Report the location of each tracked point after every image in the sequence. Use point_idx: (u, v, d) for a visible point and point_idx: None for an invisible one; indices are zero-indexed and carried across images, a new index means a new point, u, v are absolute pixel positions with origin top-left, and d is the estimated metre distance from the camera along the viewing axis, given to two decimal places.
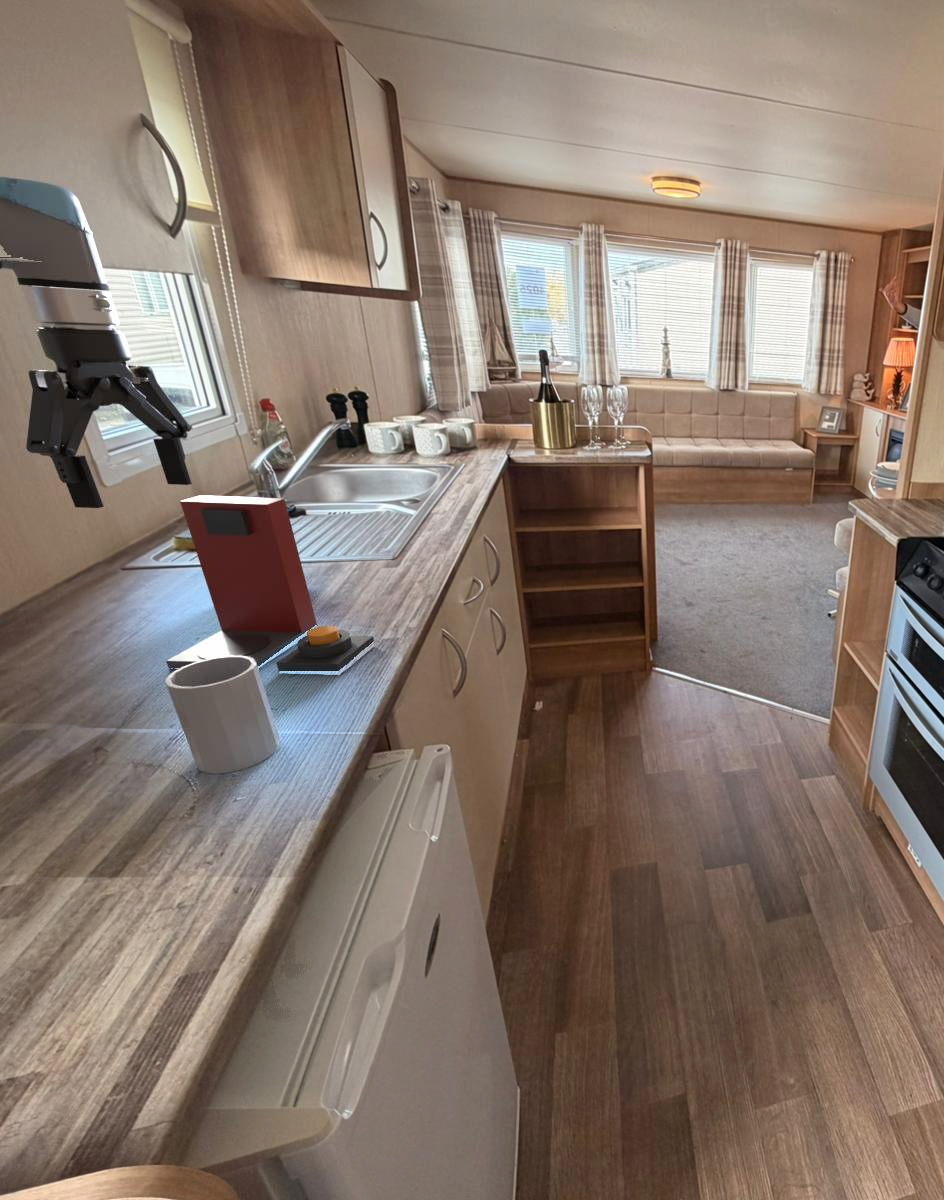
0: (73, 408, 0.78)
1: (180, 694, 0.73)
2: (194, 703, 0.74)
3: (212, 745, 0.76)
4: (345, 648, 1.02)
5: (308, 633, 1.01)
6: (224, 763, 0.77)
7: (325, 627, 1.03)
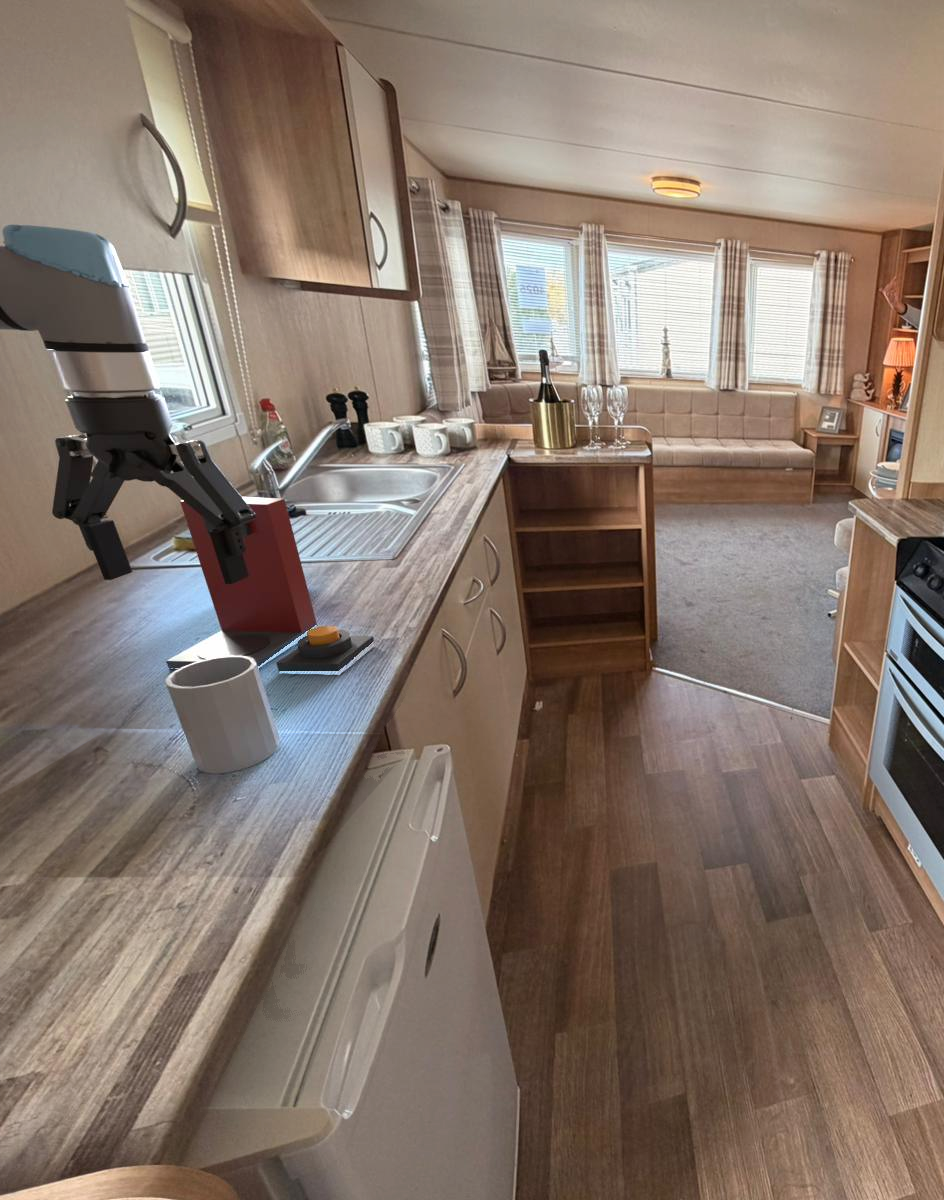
0: (187, 481, 0.72)
1: (180, 694, 0.73)
2: (194, 703, 0.74)
3: (212, 745, 0.76)
4: (345, 648, 1.02)
5: (308, 633, 1.01)
6: (224, 763, 0.77)
7: (325, 627, 1.03)
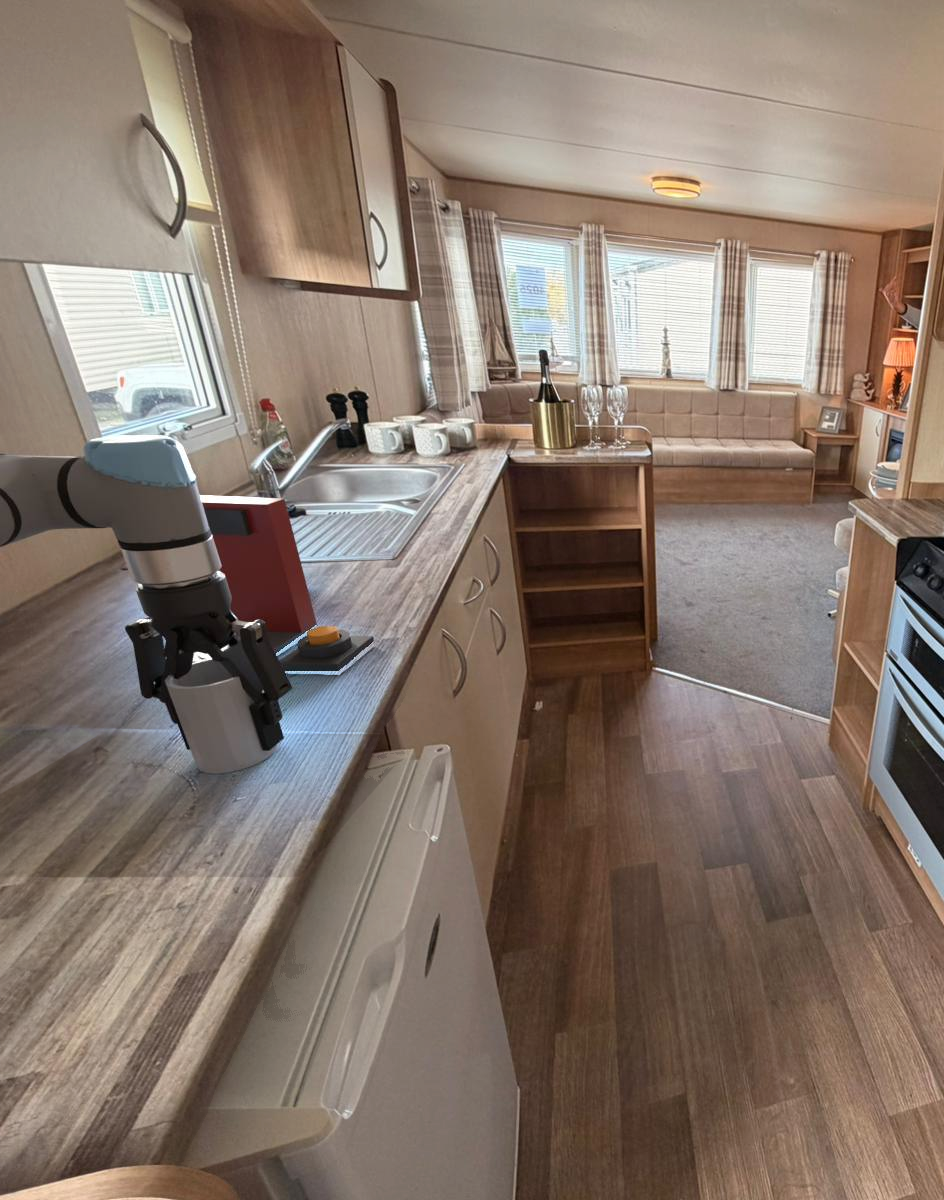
0: (239, 655, 0.76)
1: (180, 694, 0.73)
2: (194, 703, 0.74)
3: (212, 745, 0.76)
4: (345, 648, 1.02)
5: (308, 633, 1.01)
6: (224, 763, 0.77)
7: (325, 627, 1.03)
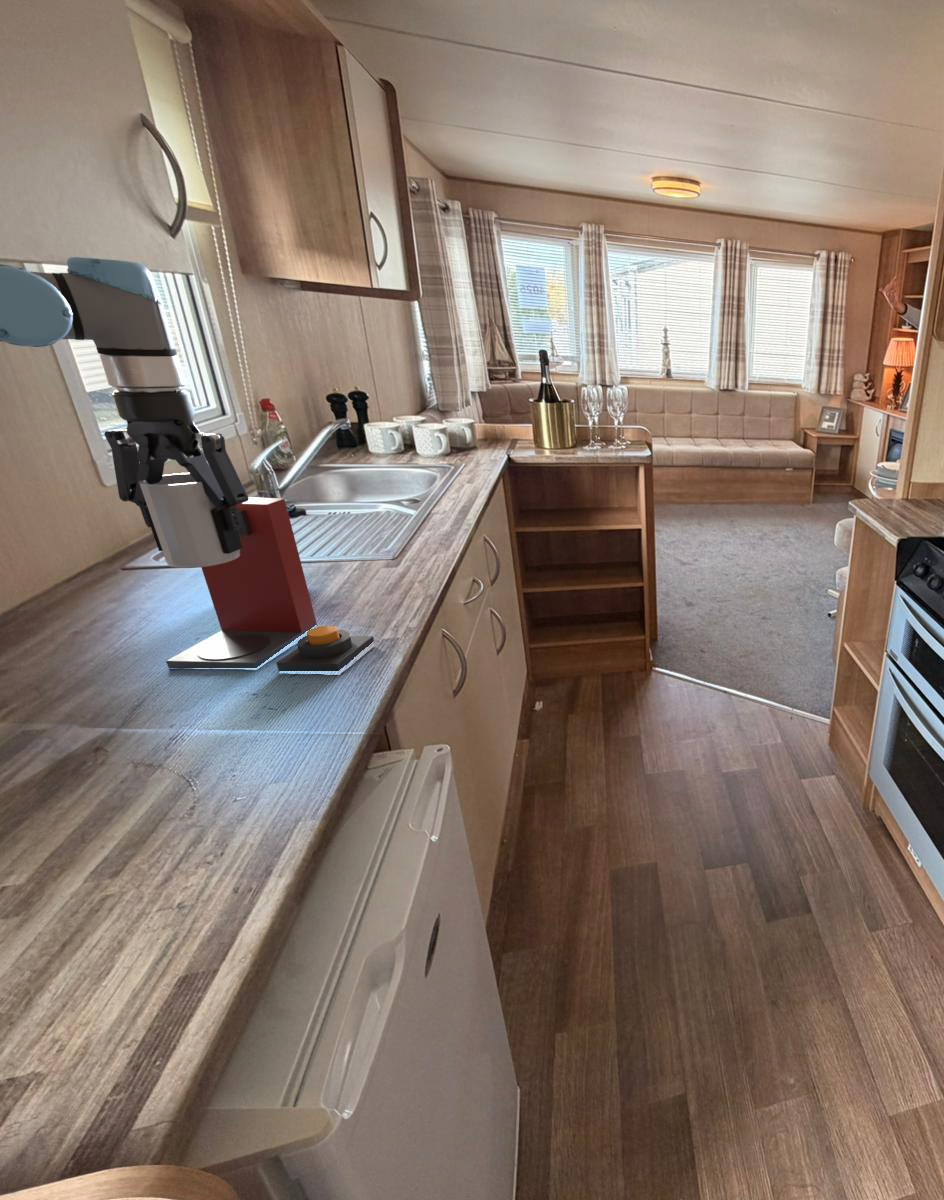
0: (202, 465, 0.90)
1: (151, 490, 0.86)
2: (163, 500, 0.87)
3: (179, 540, 0.89)
4: (345, 648, 1.02)
5: (308, 633, 1.01)
6: (190, 558, 0.91)
7: (325, 627, 1.03)
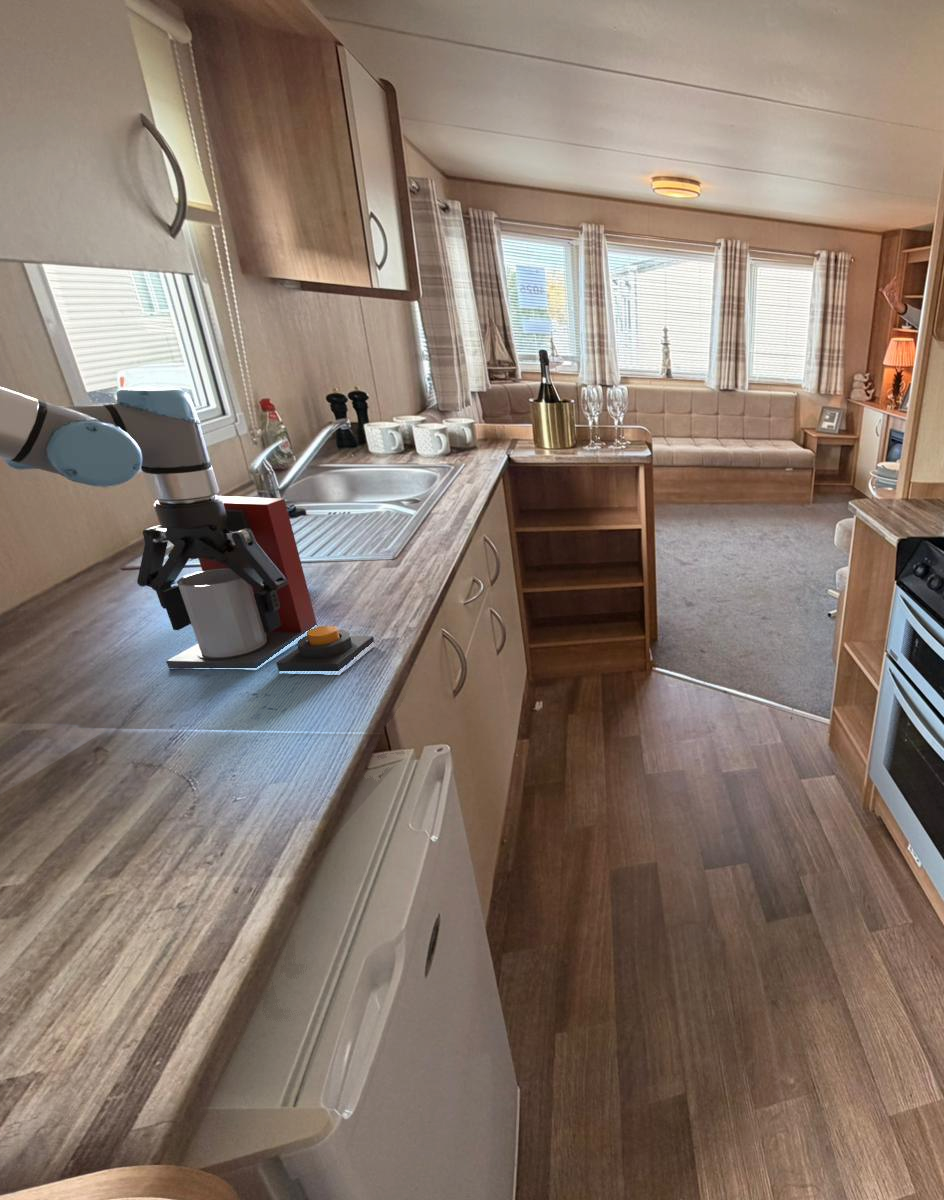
0: (238, 558, 0.98)
1: (188, 591, 0.95)
2: (199, 599, 0.96)
3: (213, 634, 0.98)
4: (345, 648, 1.02)
5: (308, 633, 1.01)
6: (222, 649, 0.99)
7: (325, 627, 1.03)
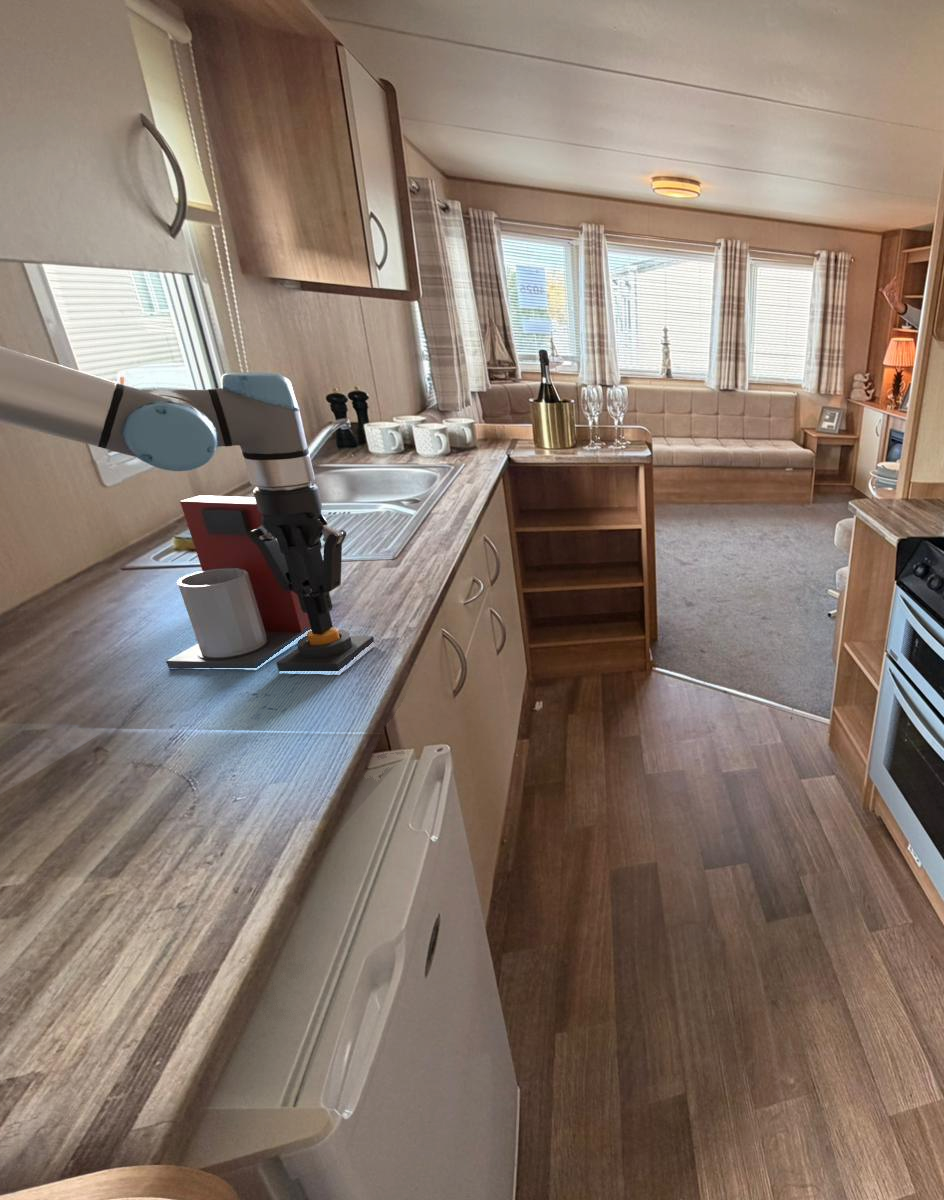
0: (316, 554, 0.97)
1: (188, 591, 0.95)
2: (199, 599, 0.96)
3: (213, 634, 0.98)
4: (345, 648, 1.02)
5: (308, 634, 1.01)
6: (222, 649, 0.99)
7: None
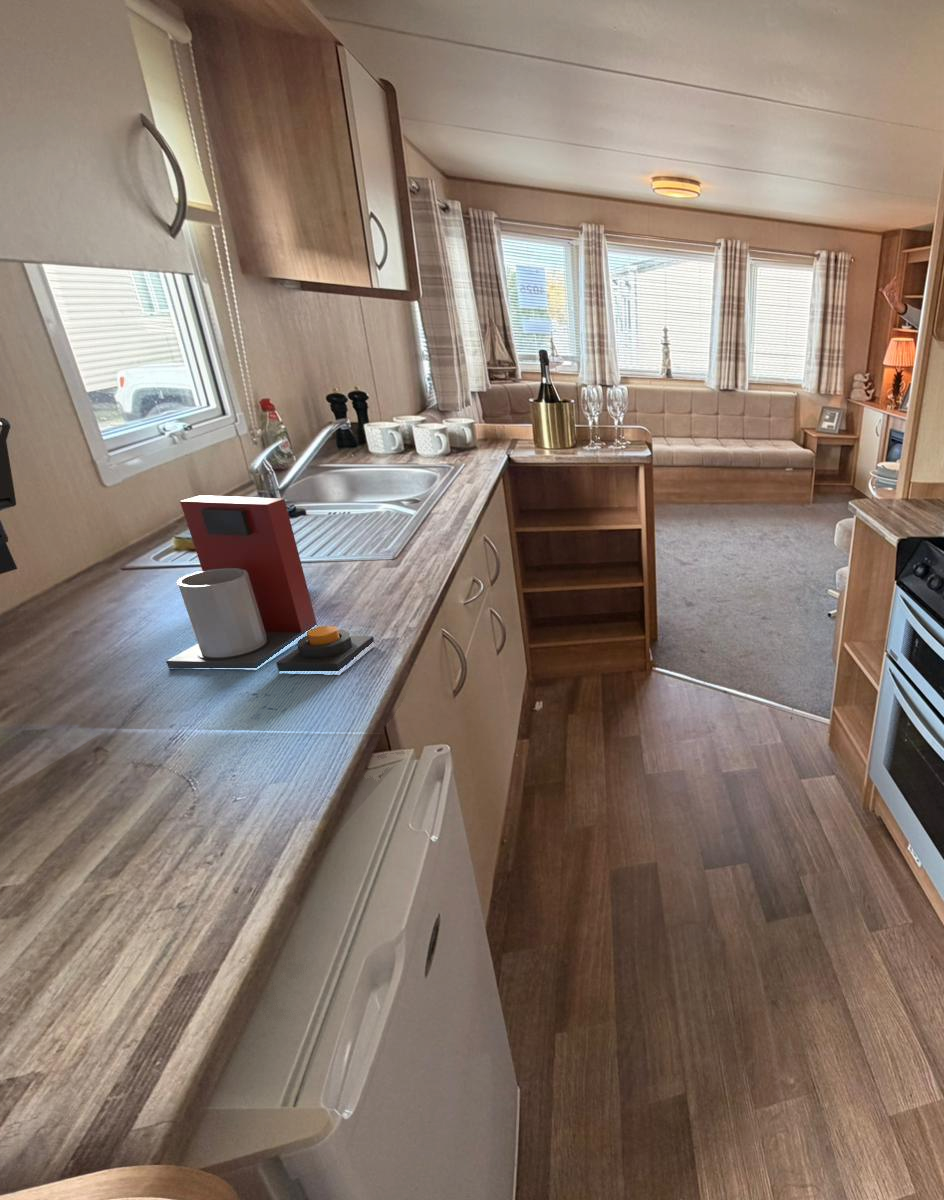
0: None
1: (188, 591, 0.95)
2: (199, 599, 0.96)
3: (213, 634, 0.98)
4: (345, 648, 1.02)
5: (308, 633, 1.01)
6: (222, 649, 0.99)
7: (325, 627, 1.03)
